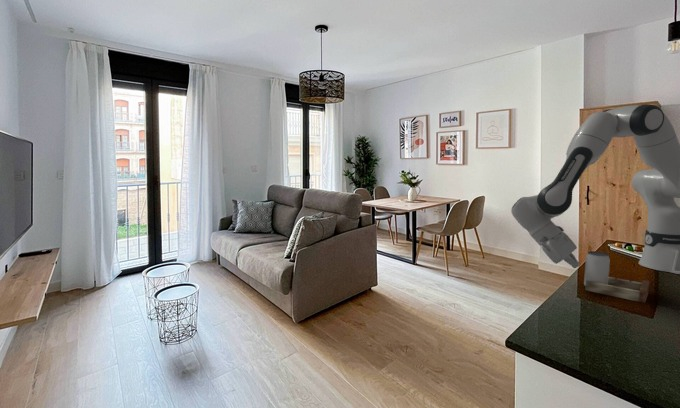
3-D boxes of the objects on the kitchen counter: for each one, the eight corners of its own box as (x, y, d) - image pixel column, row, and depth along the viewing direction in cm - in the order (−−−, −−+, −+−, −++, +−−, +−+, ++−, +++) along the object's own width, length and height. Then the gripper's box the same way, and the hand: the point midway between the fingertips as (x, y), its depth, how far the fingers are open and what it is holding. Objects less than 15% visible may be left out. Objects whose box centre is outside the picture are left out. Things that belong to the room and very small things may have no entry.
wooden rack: (585, 290, 111) (585, 278, 111) (591, 281, 119) (592, 270, 118) (645, 303, 101) (646, 290, 100) (648, 292, 108) (649, 281, 107)
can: (611, 291, 110) (614, 256, 108) (589, 290, 111) (592, 255, 110) (600, 284, 116) (603, 251, 115) (580, 283, 117) (582, 250, 116)
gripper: (546, 235, 113) (579, 268, 108) (562, 226, 127) (591, 255, 122) (531, 245, 117) (562, 278, 111) (548, 235, 131) (576, 264, 125)
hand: (577, 266), depth 117 cm, fingers closed
